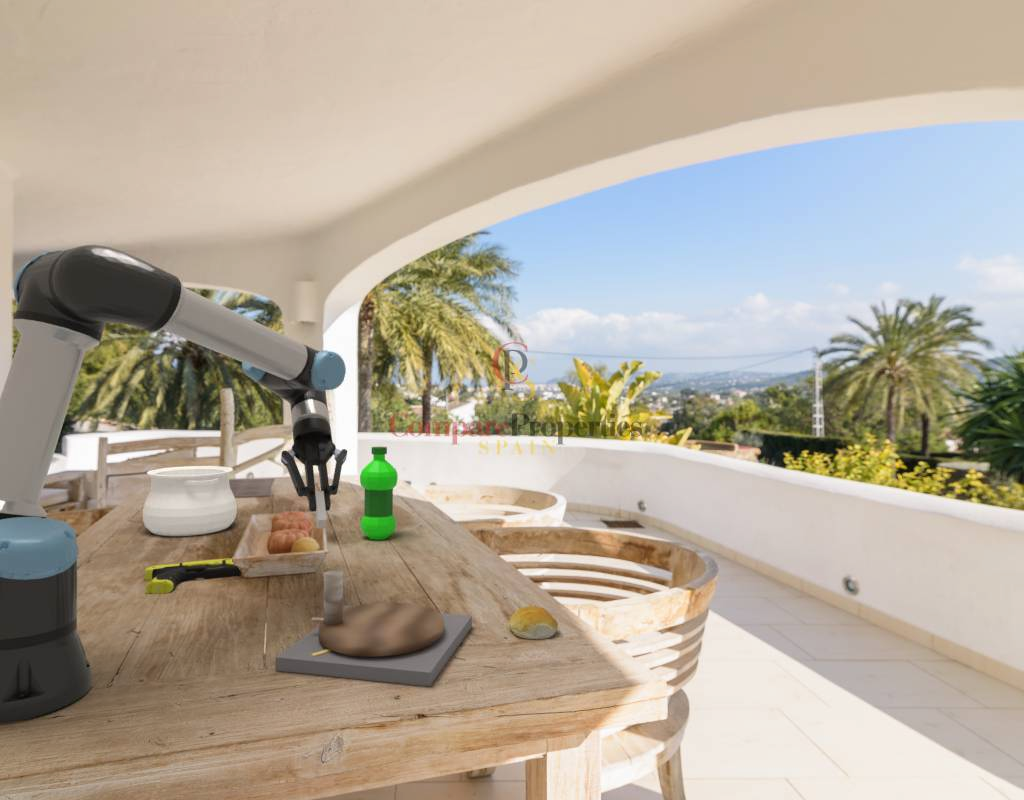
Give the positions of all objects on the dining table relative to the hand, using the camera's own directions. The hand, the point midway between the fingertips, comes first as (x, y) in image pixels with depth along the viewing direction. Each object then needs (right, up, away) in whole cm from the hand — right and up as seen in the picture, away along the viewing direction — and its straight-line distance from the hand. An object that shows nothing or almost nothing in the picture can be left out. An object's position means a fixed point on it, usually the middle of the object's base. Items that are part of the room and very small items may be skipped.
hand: (321, 523), depth 124 cm
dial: (+14, -15, -14) cm, 25 cm away
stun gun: (-33, -17, +20) cm, 42 cm away
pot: (-57, -15, +70) cm, 91 cm away
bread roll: (+39, -18, -6) cm, 43 cm away
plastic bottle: (-2, -15, +62) cm, 64 cm away
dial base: (+14, -17, -14) cm, 27 cm away
